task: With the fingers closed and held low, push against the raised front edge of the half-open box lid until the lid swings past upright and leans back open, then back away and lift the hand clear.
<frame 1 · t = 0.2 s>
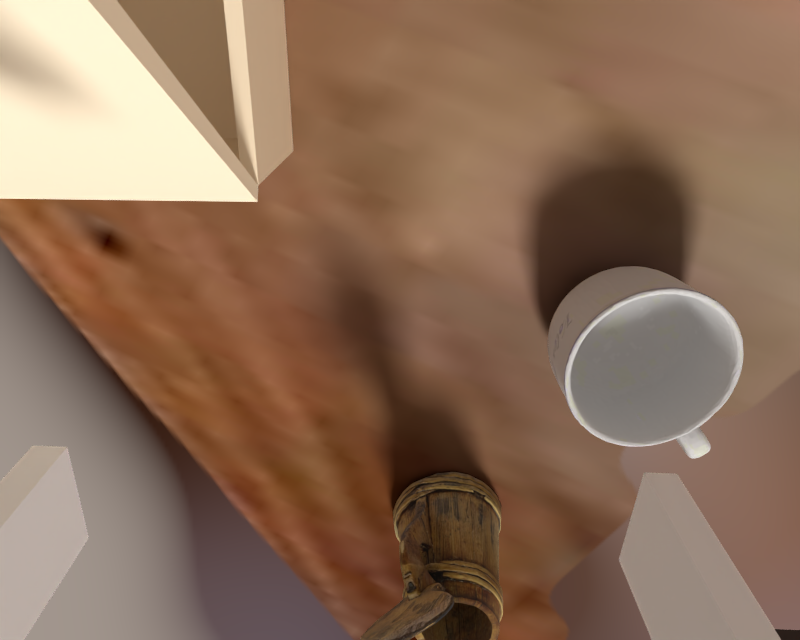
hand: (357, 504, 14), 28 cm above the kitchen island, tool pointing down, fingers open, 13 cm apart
wooden mug: (433, 492, 50), on the kitchen island
teacup: (617, 335, 43), on the kitchen island
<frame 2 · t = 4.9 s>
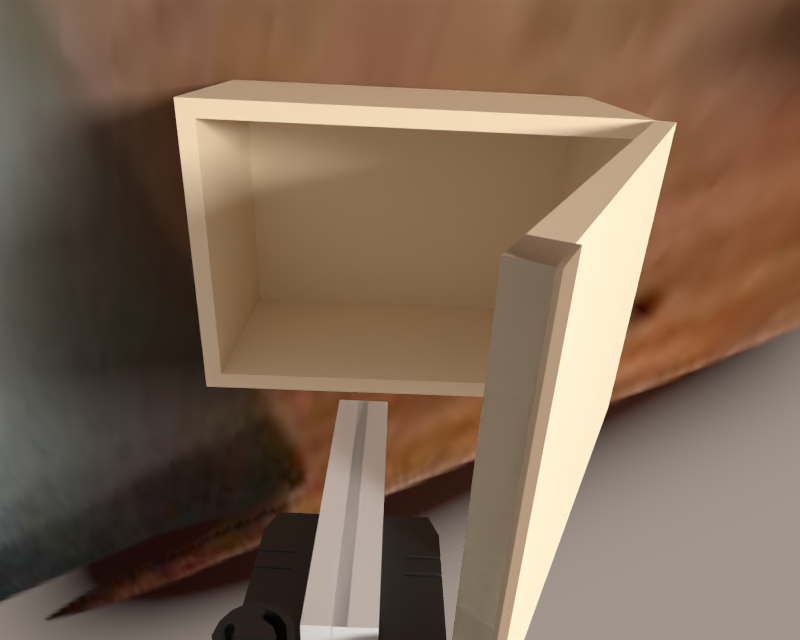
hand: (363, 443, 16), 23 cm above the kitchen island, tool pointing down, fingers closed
lid: (586, 373, 19), point 19 cm above the kitchen island, hinge at 62.3°, touching gripper
carton: (405, 209, 37), on the kitchen island
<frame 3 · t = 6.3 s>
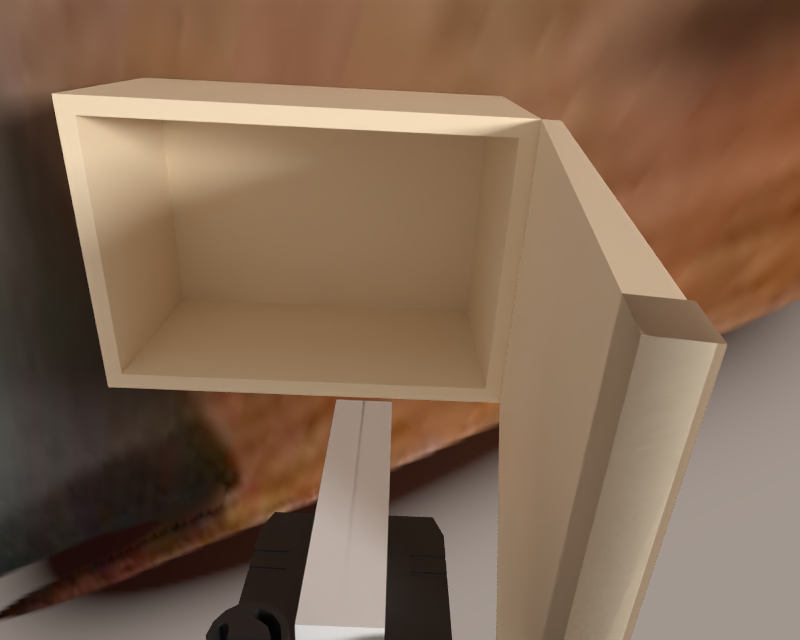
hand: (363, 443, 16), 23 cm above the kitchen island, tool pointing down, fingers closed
lid: (539, 393, 18), point 20 cm above the kitchen island, hinge at 80.6°, touching gripper
carton: (326, 209, 36), on the kitchen island
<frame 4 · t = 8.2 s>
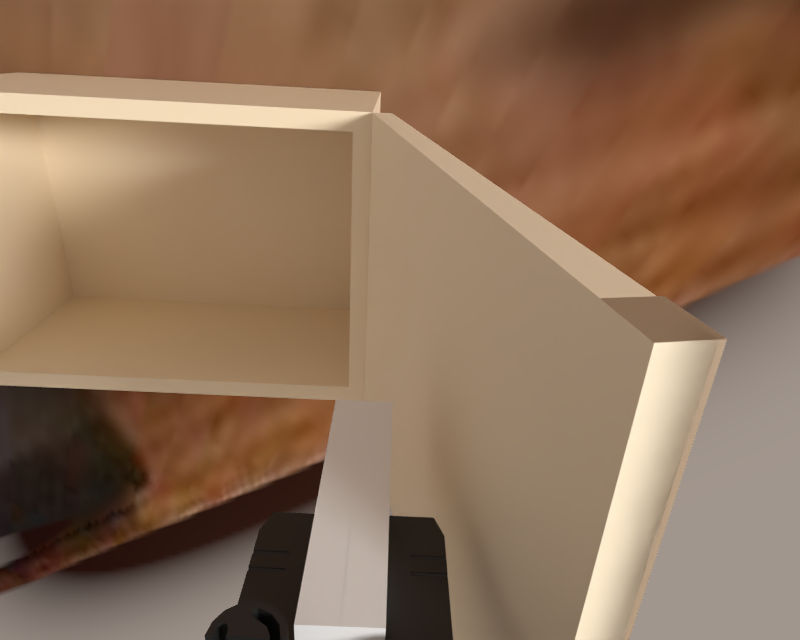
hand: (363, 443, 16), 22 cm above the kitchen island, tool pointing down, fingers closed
lid: (429, 391, 18), point 20 cm above the kitchen island, hinge at 101.3°, touching gripper
carton: (212, 205, 36), on the kitchen island
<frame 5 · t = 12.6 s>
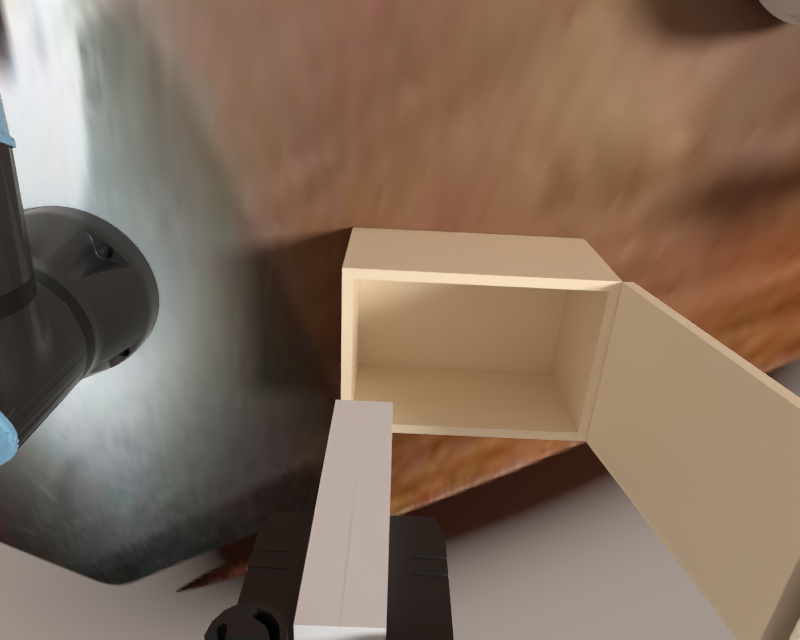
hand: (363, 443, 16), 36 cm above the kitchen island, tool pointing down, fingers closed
lid: (690, 448, 36), point 20 cm above the kitchen island, hinge at 101.3°
carton: (461, 306, 54), on the kitchen island
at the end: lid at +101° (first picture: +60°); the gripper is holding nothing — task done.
